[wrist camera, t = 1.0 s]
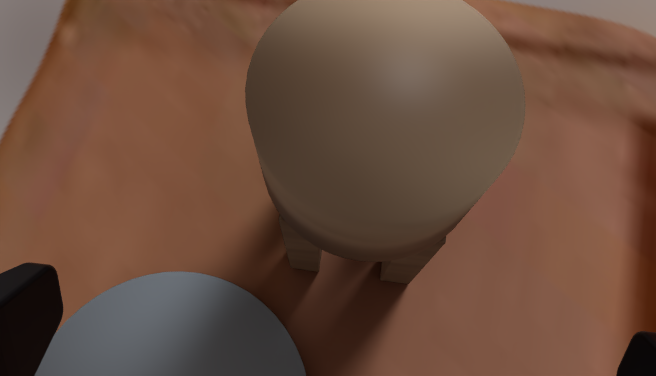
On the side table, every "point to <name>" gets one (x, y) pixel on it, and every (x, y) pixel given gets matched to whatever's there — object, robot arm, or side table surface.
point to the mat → (173, 332)
